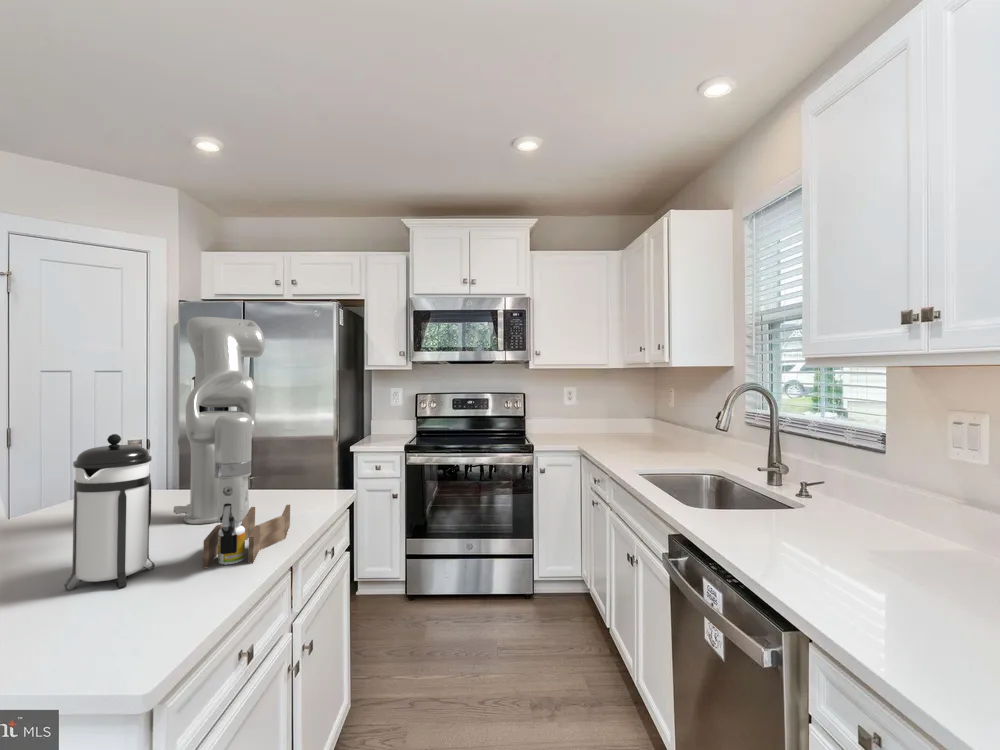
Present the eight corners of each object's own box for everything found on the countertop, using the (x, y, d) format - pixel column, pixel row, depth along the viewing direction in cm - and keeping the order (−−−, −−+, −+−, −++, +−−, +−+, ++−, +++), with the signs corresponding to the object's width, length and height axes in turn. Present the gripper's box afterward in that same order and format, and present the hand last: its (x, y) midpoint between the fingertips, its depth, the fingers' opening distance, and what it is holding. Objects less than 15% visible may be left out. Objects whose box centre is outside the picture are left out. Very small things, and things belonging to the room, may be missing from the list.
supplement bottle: (250, 558, 115) (250, 516, 115) (230, 566, 109) (231, 522, 110) (232, 555, 116) (232, 514, 116) (212, 563, 111) (212, 520, 111)
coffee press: (169, 577, 103) (172, 434, 104) (69, 601, 92) (72, 440, 92) (149, 556, 115) (151, 427, 115) (58, 575, 104) (60, 432, 104)
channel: (203, 567, 109) (203, 540, 109) (230, 530, 135) (231, 508, 135) (277, 561, 113) (277, 534, 113) (289, 525, 140) (290, 504, 140)
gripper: (243, 475, 106) (242, 560, 106) (257, 462, 122) (256, 535, 122) (204, 477, 104) (202, 563, 104) (223, 463, 120) (222, 538, 120)
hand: (231, 547), depth 113 cm, fingers closed on supplement bottle, 5 cm apart
